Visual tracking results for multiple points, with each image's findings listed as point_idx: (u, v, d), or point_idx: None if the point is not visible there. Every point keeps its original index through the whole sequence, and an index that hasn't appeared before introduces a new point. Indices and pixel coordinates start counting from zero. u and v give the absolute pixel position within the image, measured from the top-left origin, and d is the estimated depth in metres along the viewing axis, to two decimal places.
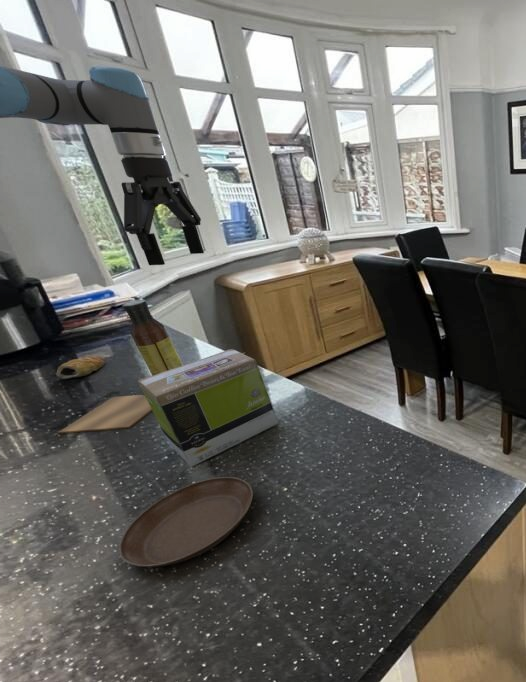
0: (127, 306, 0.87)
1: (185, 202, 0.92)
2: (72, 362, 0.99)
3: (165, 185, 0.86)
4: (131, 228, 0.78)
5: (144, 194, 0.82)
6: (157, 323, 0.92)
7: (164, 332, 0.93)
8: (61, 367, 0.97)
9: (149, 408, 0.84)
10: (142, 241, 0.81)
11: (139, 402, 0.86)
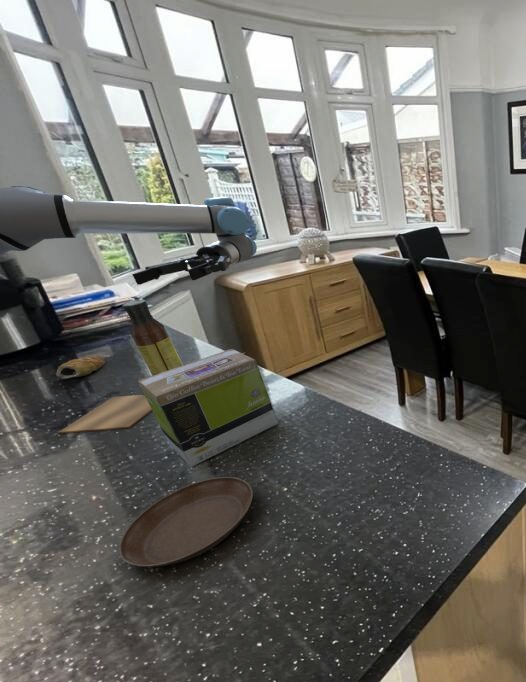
0: (127, 306, 0.87)
1: None
2: (72, 362, 0.99)
3: None
4: (224, 266, 1.05)
5: None
6: (157, 323, 0.92)
7: (164, 332, 0.93)
8: (61, 367, 0.97)
9: (149, 408, 0.84)
10: (210, 268, 1.02)
11: (139, 402, 0.86)
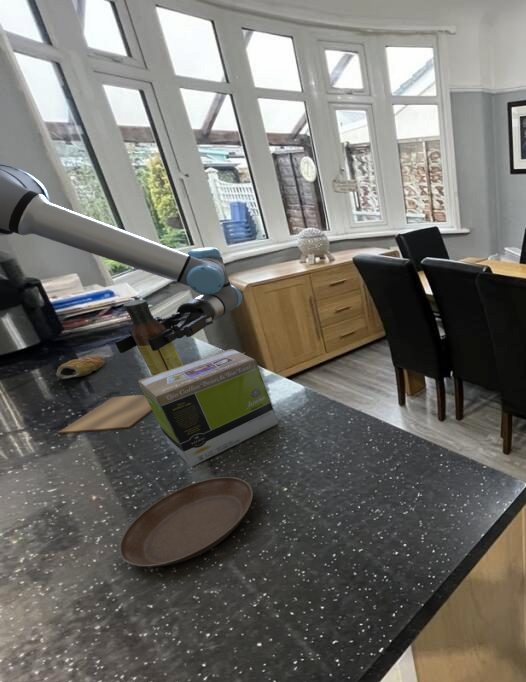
0: (128, 306, 0.87)
1: None
2: (72, 362, 0.99)
3: None
4: (189, 331, 0.96)
5: (194, 319, 1.03)
6: (158, 323, 0.92)
7: None
8: (61, 367, 0.97)
9: (149, 408, 0.84)
10: (174, 335, 0.93)
11: (139, 402, 0.86)
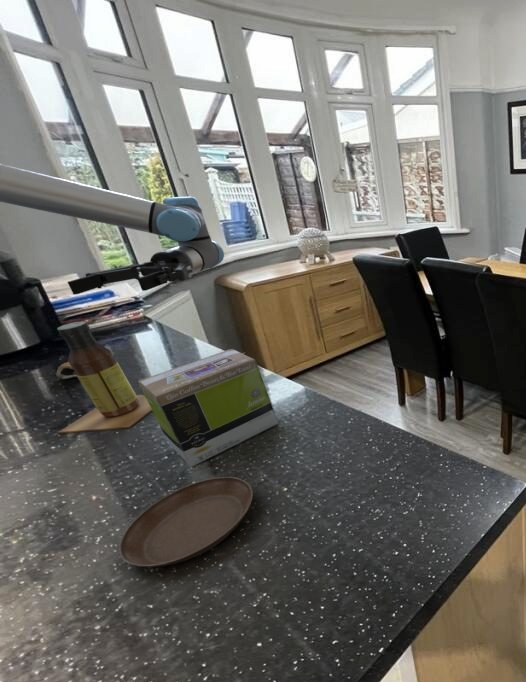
0: (62, 330, 0.73)
1: None
2: None
3: None
4: (183, 274, 0.90)
5: None
6: (102, 348, 0.78)
7: (110, 358, 0.79)
8: (61, 367, 0.97)
9: (149, 408, 0.84)
10: (166, 277, 0.88)
11: (139, 402, 0.86)
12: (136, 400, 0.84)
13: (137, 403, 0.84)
